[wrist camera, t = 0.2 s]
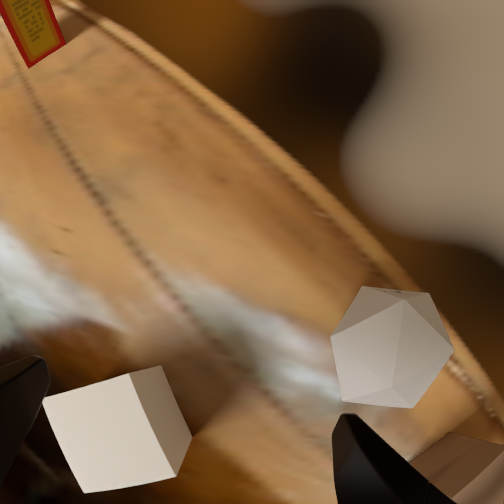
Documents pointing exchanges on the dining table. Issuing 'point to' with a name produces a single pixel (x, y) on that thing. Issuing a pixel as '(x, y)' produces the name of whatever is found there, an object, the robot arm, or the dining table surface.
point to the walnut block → (464, 469)
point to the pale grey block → (120, 430)
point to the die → (389, 347)
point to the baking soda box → (32, 28)
